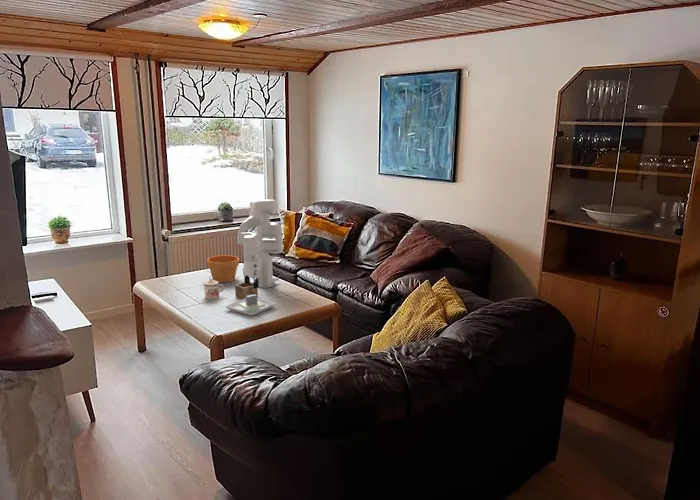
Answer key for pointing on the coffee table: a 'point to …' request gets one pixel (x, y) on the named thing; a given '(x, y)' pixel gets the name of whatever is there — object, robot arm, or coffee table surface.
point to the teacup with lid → (212, 289)
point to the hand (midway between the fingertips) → (251, 285)
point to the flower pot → (223, 267)
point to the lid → (251, 303)
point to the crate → (245, 290)
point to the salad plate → (240, 309)
